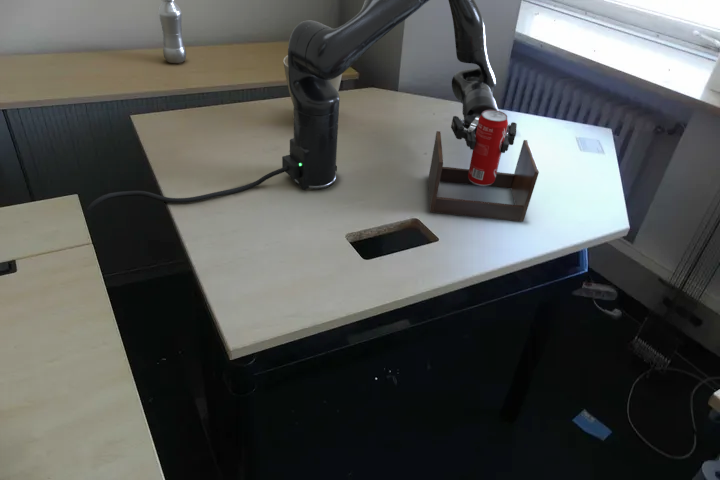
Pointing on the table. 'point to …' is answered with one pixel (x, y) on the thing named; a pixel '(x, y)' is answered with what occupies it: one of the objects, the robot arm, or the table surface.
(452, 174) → the walnut crate
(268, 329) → the table surface
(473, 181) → the beverage can
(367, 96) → the table surface
